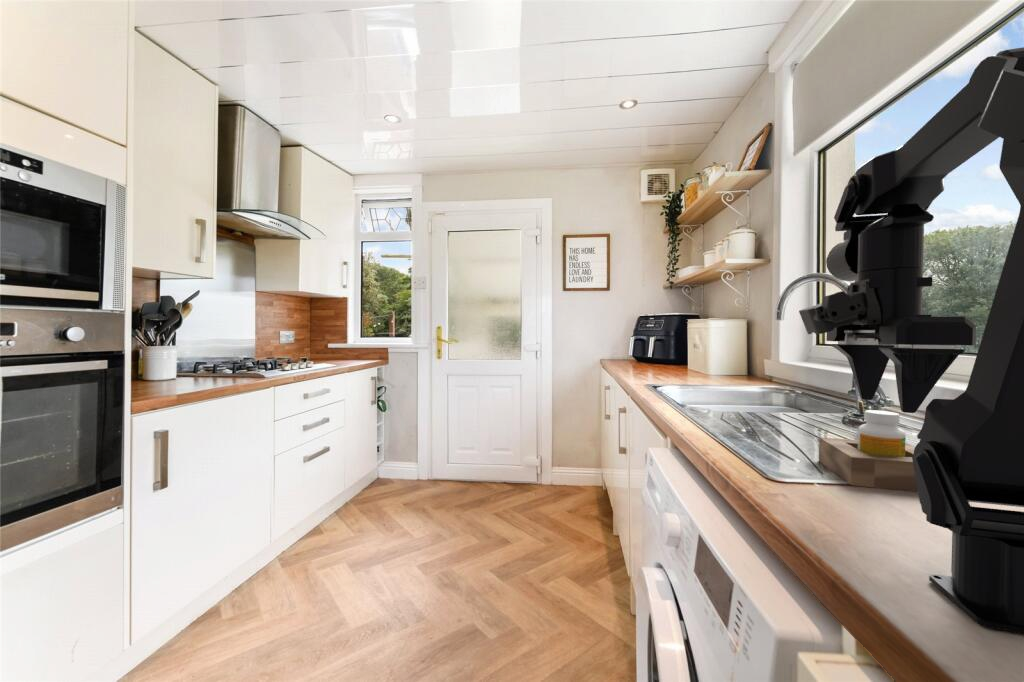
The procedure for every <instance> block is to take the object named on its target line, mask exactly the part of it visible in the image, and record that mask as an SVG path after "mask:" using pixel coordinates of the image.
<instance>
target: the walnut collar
mask: <svg viewBox="0 0 1024 682" xmlns="http://www.w3.org/2000/svg"><path fill="white" fill-rule="evenodd" d="M818 443H819V444H818V462H819V463H821V464H822V465H823V466H825V467H826V468H827V469H829V470H830V471H831V472H833V473H834V474H835V475H837V476H838V477H840V479H842V478H843V479H845V480H846V481H847V482H848V483H847V482H846V481H845V480H844V481H845V482H846V483H847V484H849V485H851V486H854V487H856V486H857V487H864V488H865V487H866V488H876V489H884V490H885V489H886V490H898V491H906V492H908V491H909V492H917V493H918V489H917V484H916V478H915V472H914V466H913V460H912V456H913V454H914V449H915V447H916V445H912V444H910V443H907V442H905V457H902V456H889V455H875V454H865V453H863V452H861V451H860V450H858V439H847V438H835V437H834V438H832V437H821V436H820V437H819V441H818ZM843 479H842V480H843Z"/></svg>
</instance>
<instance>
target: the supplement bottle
mask: <svg viewBox="0 0 1024 682" xmlns="http://www.w3.org/2000/svg"><path fill="white" fill-rule="evenodd" d="M900 417H901V416H900V414H899V413H897V412H893V411H887V410H877V409H876V410H875V409H867V410H864V415H863V418H864V421H865V422H866V423H863V424H861V425H859V427H858V431H857V440H858V450H860V451H861V452H863V453H865V454H875V455H889V456H902V457H905V443H906V439H907V438H906V432H905V431H904V429H902V428H901V427H898V425H899V424H900V421H901V420H900V419H901V418H900Z"/></svg>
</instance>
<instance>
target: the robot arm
mask: <svg viewBox="0 0 1024 682" xmlns="http://www.w3.org/2000/svg"><path fill="white" fill-rule="evenodd" d="M999 138H1001V139H1002V144H1001V145H1002V147H1001V153H1000V159H999V170H1000V172H1001V174H1002V175H1003V178H1004V179H1005V181H1006V182H1007V183H1008V186H1009V187H1010V189H1011V191H1012V193H1013V194H1014V196H1015V198H1016V200H1017V201H1018V203H1019V205H1020V209H1019V213H1018V216H1017V220H1016V224H1015V228H1014V230H1013V233H1012V237H1011V239H1010V243H1009V246H1008V251H1007V254H1006V257H1005V260H1004V263H1003V267H1002V271H1001V274H1000V276H999V280H998V283H997V287H996V290H995V294H994V297H993V300H992V302H991V303H992V304H991V307H990V310H989V313H988V316H987V319H986V320H987V321H986V323H985V327H984V330H983V333H982V337H981V340H980V343H979V347H978V350H977V353H976V356H975V359H974V360H975V361H974V364H973V368H972V370H971V373H970V377H969V379H968V383H967V386H966V389H965V391H964V392H963V393H961V394H959V395H958V396H957V397H954V398H953V399H952V398H948V399H947V398H944V399H943V398H933V399H931V401H930V402H929V403H928V405H927V406H926V408H925V412H924V413H925V414H924V420H923V424H922V426H921V428H920V431H919V432H918V433H917V434H916V437H917V439H918V440H919V442H918V443H917V444H916V445H915V449H914V454H913V456H912V460H913V466H914V472H915V478H916V484H917V489H918V492H917V494H918V500H919V504H920V507H921V511H922V513H924V515H926V516H925V519H926V521H927V522H928V523H929V524H931V525H934V526H936V527H937V526H938V527H940V528H943V529H947V530H949V531H950V532H952V533H951V534H952V535H951V536H952V537H951V565H950V566H951V567H950V568H951V569H950V572H951V576H950V575H941V574H936V573H929V574H928V581H929V582H931V584H933V585H934V586H935V587H936V588H938V589H939V591H941V592H942V593H943V594H944V595H946V597H948V598H949V599H950V600H951V601H952V602H953V603H954V604H956V605H957V606H958V607H959V608H960V609H961V610H963V612H964V613H966V614H967V615H968V616H969V617H971V619H972V620H974V621H975V622H977V624H979V625H981V626H983V627H985V628H990V629H995V630H1002V631H1006V632H1013V633H1018V634H1019V633H1020V634H1024V511H1019V510H1011V509H1010V510H1009V509H1000V508H999V509H998V508H989V507H981V506H971V505H970V503H977V504H978V503H979V504H986V505H997V506H1007V507H1008V506H1009V507H1017V508H1019V507H1020V508H1024V46H1023V47H1017V48H1010V49H1004V50H1001V51H999V52H997V53H996V54H994V55H992V56H991V55H990V56H987V57H985V58H984V59H983V60H981V61H980V62H979V64H977V66H976V67H975V68H974V70H973V72H972V74H971V76H970V78H969V80H968V83H967V84H966V85H964V87H962V89H960V90H959V92H957V94H956V95H954V96H953V97H952V98H951V99H949V101H948V102H947V103H946V104H945V105H943V107H942V108H940V110H938V112H936V113H935V114H934V115H933V116H932V117H931V118H930V119H929V120H928V121H927V122H926V123H925V124H924V125H923V126H922V127H921V128H920V129H919V130H918V131H916V132H915V133H914V135H913V136H911V137H910V138H909V139H908V140H907V141H906V142H905V143H904V144H902V145H901V146H900V147H898V148H897V149H894V150H892V151H891V150H890V151H889V152H885V153H882V154H879V155H877V156H874V157H872V158H871V159H869V160H867V162H865V163H863V164H862V165H861V166H859V168H858V169H857V170H855V173H854V175H852V176H851V177H850V178H849V180H848V182H847V185H845V187H844V189H843V192H842V194H841V195H842V196H841V198H840V199H839V202H838V206H837V209H836V211H835V214H834V216H833V219H834V221H835V227H834V229H835V232H843V239H842V241H840V242H839V243H836V245H834V246H833V247H832V248H831V249H830V251H829V252H828V255H827V257H826V259H825V264H826V269H827V270H828V272H829V273H830V274H831V276H832V277H833V278H836V279H838V280H839V281H840V280H841V281H845V282H850V284H849V285H848V286H847V289H846V292H845V291H843V290H841V291H837V292H835V293H833V294H830V295H829V294H828V295H825V296H823V297H822V300H821V301H822V302H821V303H817V304H815V305H812V306H810V307H806V308H803V309H800V310H798V313H799V315H800V317H801V321H802V323H803V326H804V329H805V330H806V333H807V335H811V334H815V335H821V334H825V333H826V339H825V340H826V342H837V343H831V344H830V346H831V347H833V349H835V350H837V351H839V353H841V354H842V355H844V356H845V357H846V358H847V361H848V364H849V367H850V369H851V370H850V371H851V373H852V375H853V378H854V382H855V384H856V388H857V390H858V394H859V397H860V399H861V400H864V401H871V400H873V399H874V396H875V395H876V392H877V391H878V388H879V386H880V383H881V381H882V378H883V375H884V374H885V371H886V369H887V365H888V363H889V360H890V361H891V362H892V363H893V365H894V372H895V381H896V389H897V397H898V402H899V407H900V411H901V412H903V413H906V414H914V413H916V412H917V411H918V409H919V408H920V407H921V405H922V404H923V403H924V401H925V400H926V398H927V396H928V395H929V394H930V392H932V390H933V388H935V386H936V384H937V383H938V381H939V380H940V379H941V377H942V376H943V375H944V374H945V373H946V371H948V369H949V368H950V366H951V365H952V364H953V363H954V361H956V359H957V358H958V356H960V355H964V354H965V353H966V349H965V348H956V346H976V344H977V325H976V324H974V323H973V322H972V321H971V320H969V319H968V318H967V317H965V316H932V314H923V309H922V308H923V289H924V288H928V287H933V276H924V248H925V247H924V243H925V225H926V224H928V223H930V222H932V221H933V220H934V218H935V217H934V215H933V214H932V213H931V212H930V211H928V209H929V208H930V206H931V205H932V203H933V202H934V200H936V199H937V197H939V196H940V194H942V193H943V192H944V191H945V182H944V179H945V178H946V177H947V176H948V175H949V174H950V173H952V172H953V171H955V170H956V169H957V168H958V167H960V166H961V165H962V164H964V163H966V162H967V161H969V160H970V159H971V158H973V157H974V156H975V155H977V154H978V153H979V152H981V151H983V149H985V148H986V147H988V146H989V145H991V144H992V143H994V142H995V141H996V140H997V139H999ZM854 215H855V216H854ZM854 281H855V282H854ZM879 342H880V343H882V344H879ZM895 345H897V347H895Z"/></svg>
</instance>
